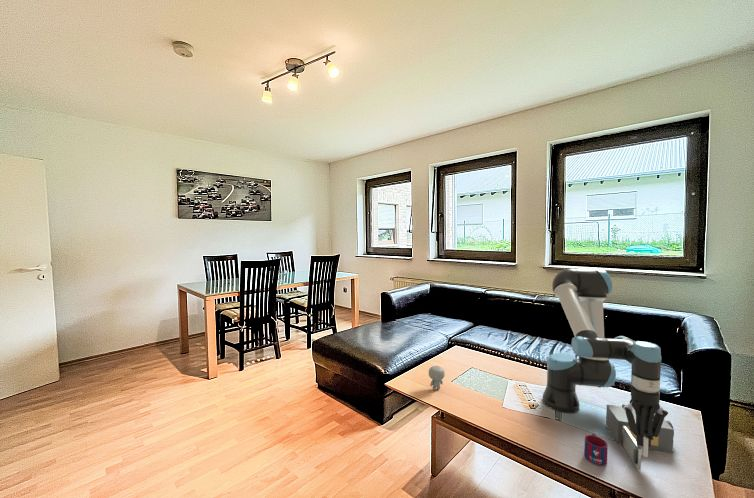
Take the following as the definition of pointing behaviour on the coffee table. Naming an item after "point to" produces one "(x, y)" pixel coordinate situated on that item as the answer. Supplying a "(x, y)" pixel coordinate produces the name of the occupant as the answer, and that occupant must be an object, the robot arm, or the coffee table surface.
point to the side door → (631, 447)
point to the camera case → (619, 418)
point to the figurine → (436, 376)
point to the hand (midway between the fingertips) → (643, 454)
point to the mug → (595, 450)
